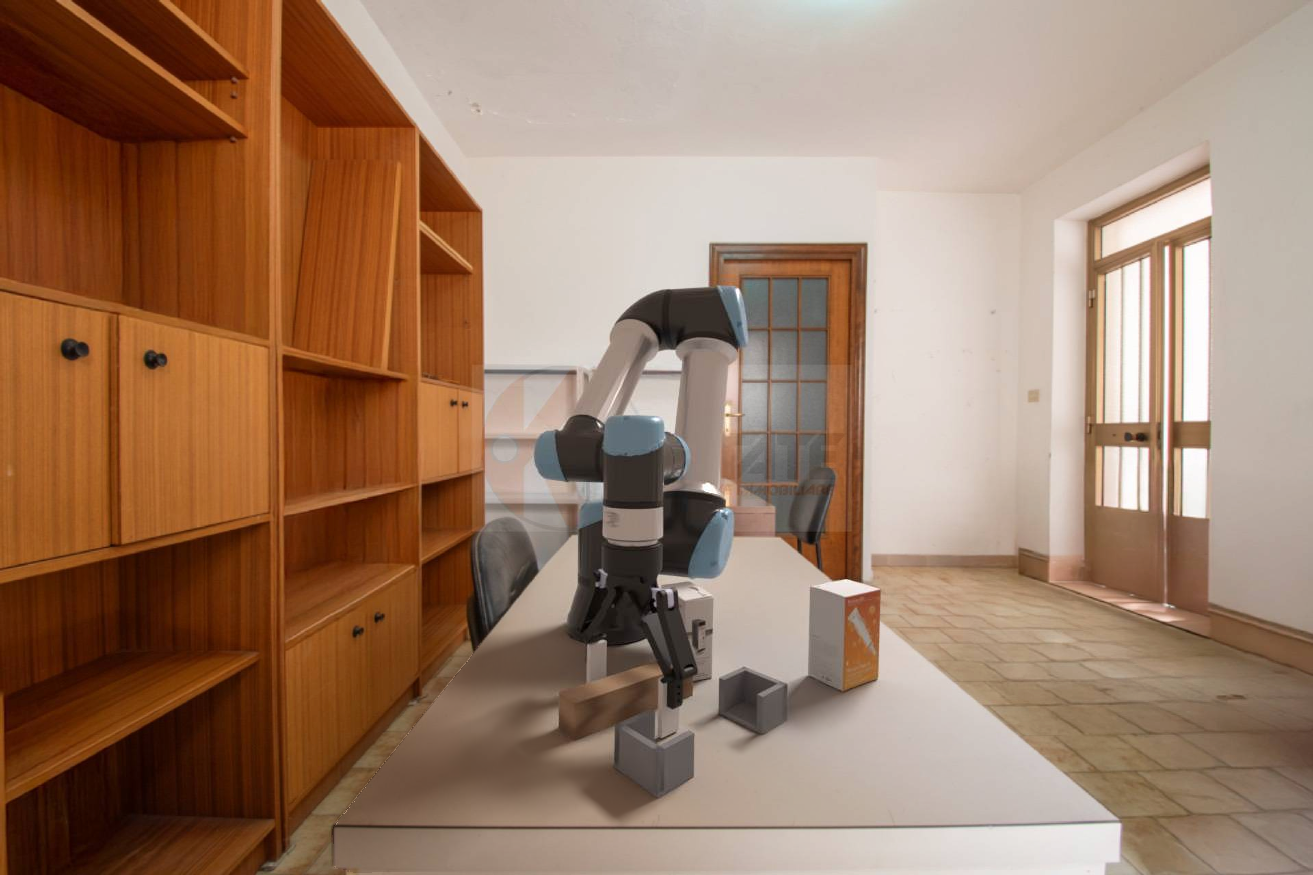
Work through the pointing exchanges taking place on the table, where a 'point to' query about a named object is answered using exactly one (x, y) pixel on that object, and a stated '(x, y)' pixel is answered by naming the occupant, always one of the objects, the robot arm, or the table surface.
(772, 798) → the table surface
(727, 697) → the endcap
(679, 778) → the endcap
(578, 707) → the slat
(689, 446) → the robot arm
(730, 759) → the table surface
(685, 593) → the ink box
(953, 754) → the table surface
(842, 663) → the small box
